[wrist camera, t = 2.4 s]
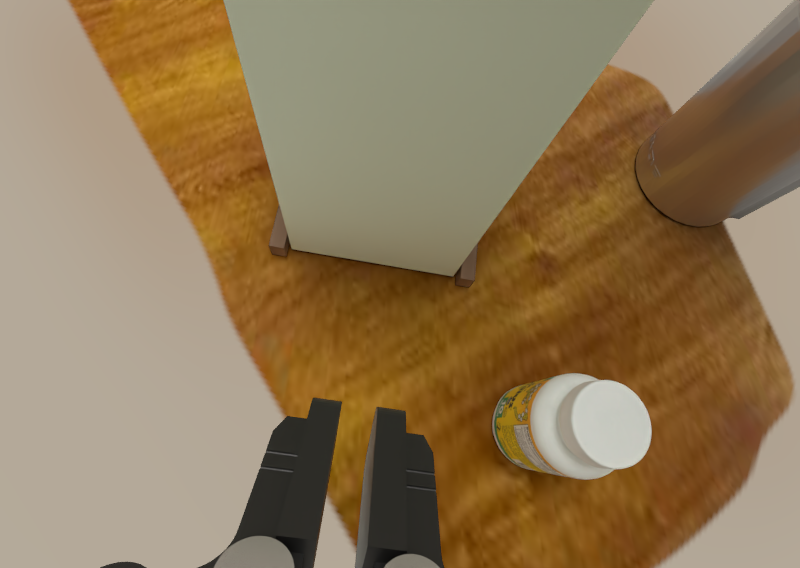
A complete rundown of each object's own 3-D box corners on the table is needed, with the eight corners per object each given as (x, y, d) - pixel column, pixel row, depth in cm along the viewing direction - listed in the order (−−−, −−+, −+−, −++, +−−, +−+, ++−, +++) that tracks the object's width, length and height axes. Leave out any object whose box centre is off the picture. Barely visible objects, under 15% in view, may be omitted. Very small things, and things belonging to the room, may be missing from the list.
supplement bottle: (514, 484, 28) (596, 509, 19) (475, 405, 30) (535, 395, 20) (582, 445, 30) (687, 452, 21) (541, 371, 31) (625, 347, 22)
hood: (464, 159, 35) (686, -329, 13) (452, 276, 32) (725, -99, 9) (318, 131, 34) (275, -449, 12) (291, 249, 31) (157, -240, 8)
